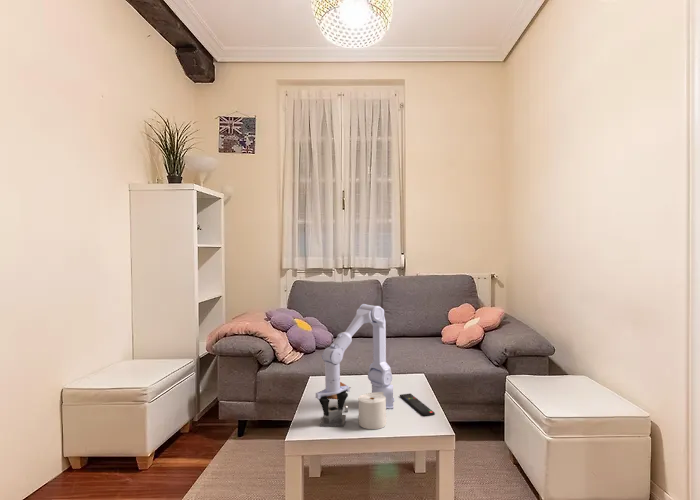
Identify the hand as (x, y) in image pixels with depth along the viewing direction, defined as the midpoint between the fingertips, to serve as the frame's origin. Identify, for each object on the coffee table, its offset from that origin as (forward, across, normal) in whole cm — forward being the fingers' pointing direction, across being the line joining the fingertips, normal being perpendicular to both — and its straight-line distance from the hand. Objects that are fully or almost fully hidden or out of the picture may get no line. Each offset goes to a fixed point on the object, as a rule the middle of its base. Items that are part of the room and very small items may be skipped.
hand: (333, 413), depth 166 cm
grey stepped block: (+2, 0, 0) cm, 2 cm away
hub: (+3, 0, 0) cm, 3 cm away
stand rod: (+3, -10, -5) cm, 11 cm away
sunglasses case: (+4, -19, -27) cm, 33 cm away
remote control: (+4, -38, +7) cm, 38 cm away
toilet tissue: (+4, -12, +10) cm, 16 cm away
